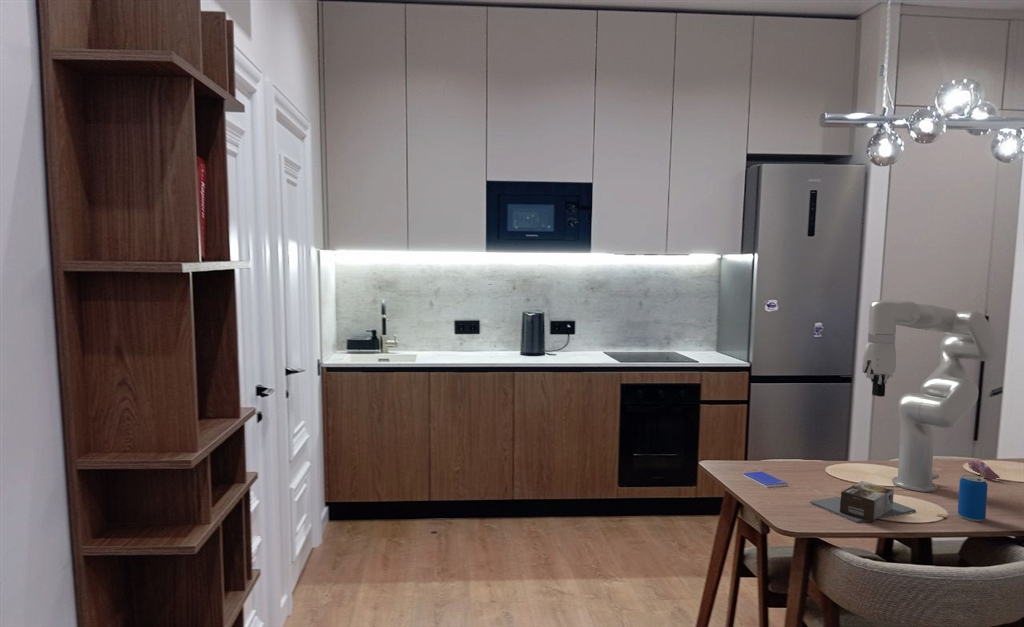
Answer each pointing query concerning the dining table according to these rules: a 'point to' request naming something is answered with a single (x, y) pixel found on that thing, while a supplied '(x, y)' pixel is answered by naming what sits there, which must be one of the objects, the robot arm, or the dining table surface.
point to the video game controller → (982, 469)
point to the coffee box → (866, 500)
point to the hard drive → (765, 479)
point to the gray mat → (834, 507)
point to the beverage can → (972, 498)
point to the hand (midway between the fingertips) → (878, 395)
